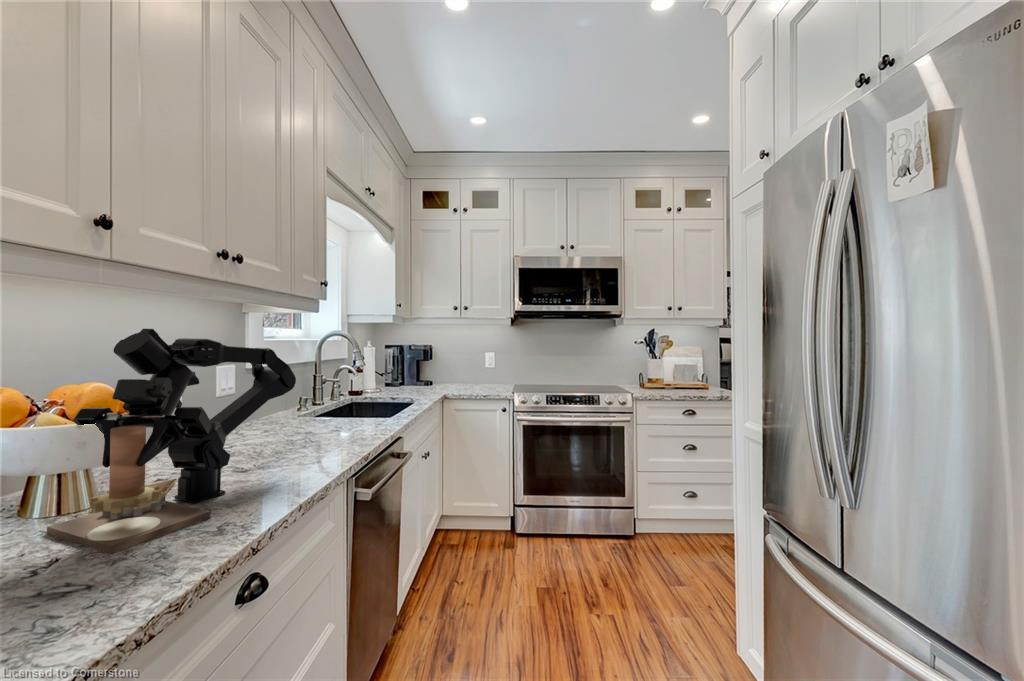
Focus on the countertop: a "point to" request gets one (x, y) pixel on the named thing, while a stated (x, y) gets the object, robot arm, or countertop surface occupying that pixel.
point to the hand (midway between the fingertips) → (122, 465)
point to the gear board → (127, 525)
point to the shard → (164, 486)
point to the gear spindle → (126, 473)
